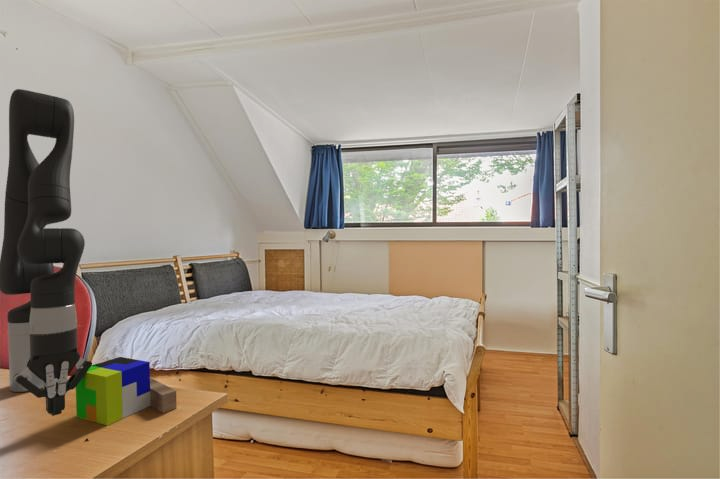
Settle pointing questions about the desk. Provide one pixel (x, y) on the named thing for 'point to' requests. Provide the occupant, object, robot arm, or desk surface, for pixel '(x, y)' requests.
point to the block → (162, 396)
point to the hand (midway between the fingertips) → (55, 413)
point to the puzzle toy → (113, 390)
